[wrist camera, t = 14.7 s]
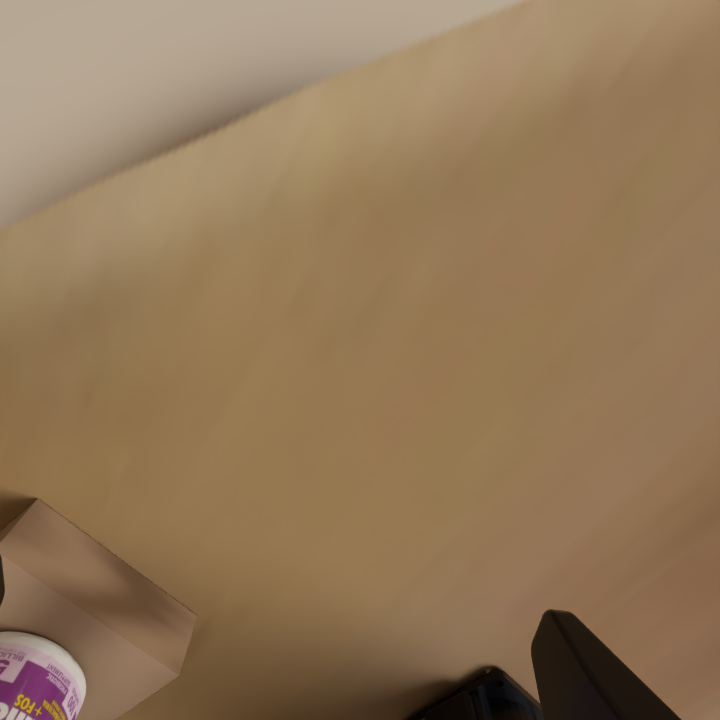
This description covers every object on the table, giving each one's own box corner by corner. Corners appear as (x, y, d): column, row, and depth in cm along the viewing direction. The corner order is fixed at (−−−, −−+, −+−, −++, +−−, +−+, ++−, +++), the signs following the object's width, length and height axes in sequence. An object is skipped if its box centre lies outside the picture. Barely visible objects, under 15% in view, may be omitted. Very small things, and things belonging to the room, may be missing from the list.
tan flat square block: (197, 616, 25) (179, 675, 22) (75, 703, 27) (45, 768, 24) (37, 498, 22) (-6, 550, 19) (-85, 606, 24) (-140, 666, 22)
